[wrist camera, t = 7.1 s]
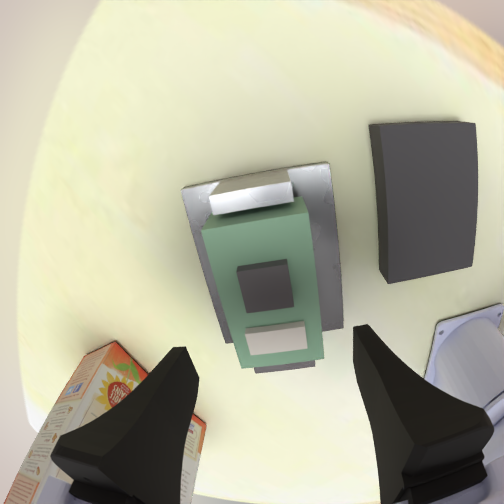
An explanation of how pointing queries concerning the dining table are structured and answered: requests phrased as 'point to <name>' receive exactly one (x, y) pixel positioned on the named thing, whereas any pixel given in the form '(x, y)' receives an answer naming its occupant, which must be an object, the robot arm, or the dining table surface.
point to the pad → (425, 197)
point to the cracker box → (86, 410)
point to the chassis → (265, 194)
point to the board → (267, 282)
